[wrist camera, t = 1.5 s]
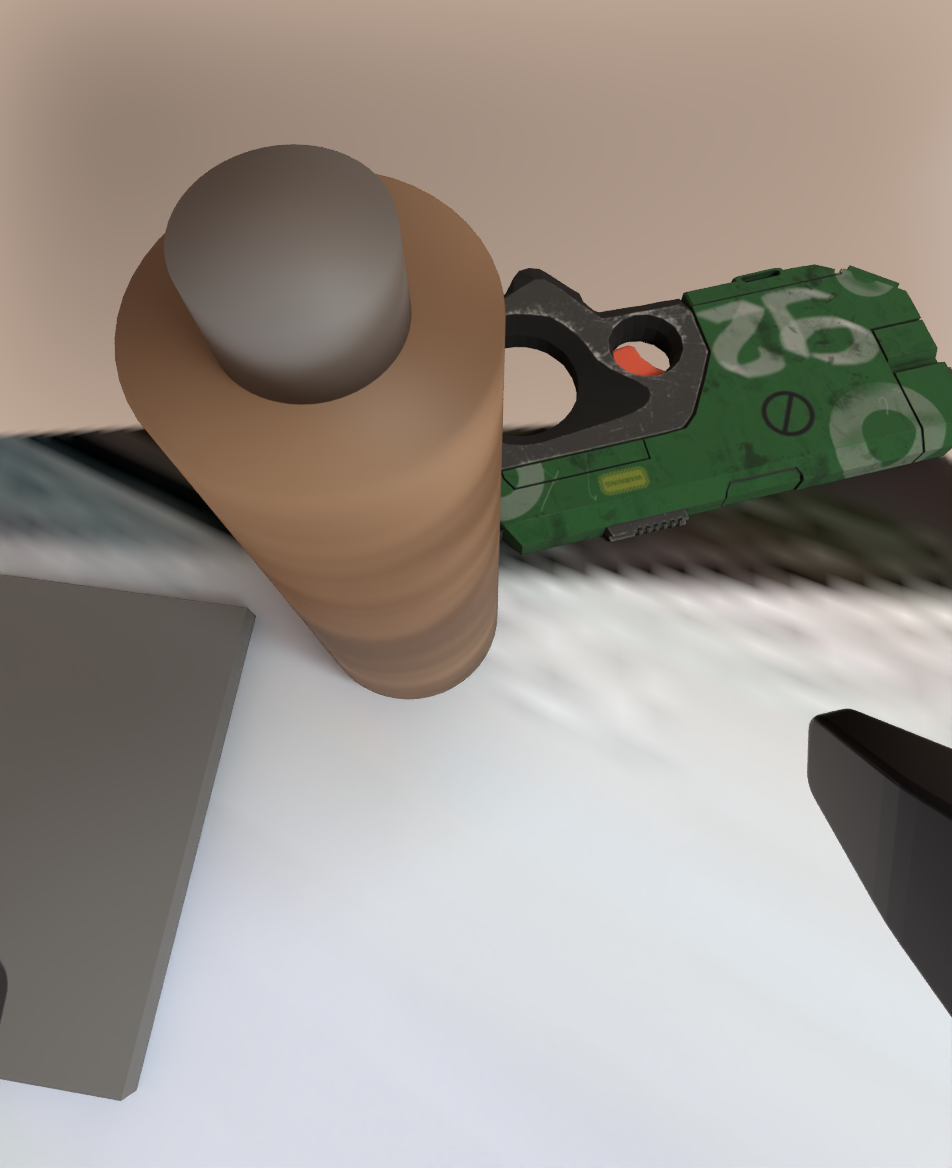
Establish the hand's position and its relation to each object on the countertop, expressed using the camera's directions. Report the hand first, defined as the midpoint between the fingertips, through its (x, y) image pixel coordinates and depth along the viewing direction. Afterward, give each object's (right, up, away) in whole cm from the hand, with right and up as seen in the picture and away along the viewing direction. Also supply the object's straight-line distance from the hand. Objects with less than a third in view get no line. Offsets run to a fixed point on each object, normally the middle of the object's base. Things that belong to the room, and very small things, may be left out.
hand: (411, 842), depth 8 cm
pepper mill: (-1, +2, +14) cm, 14 cm away
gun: (+7, +9, +17) cm, 21 cm away
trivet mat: (-13, -3, +12) cm, 18 cm away
